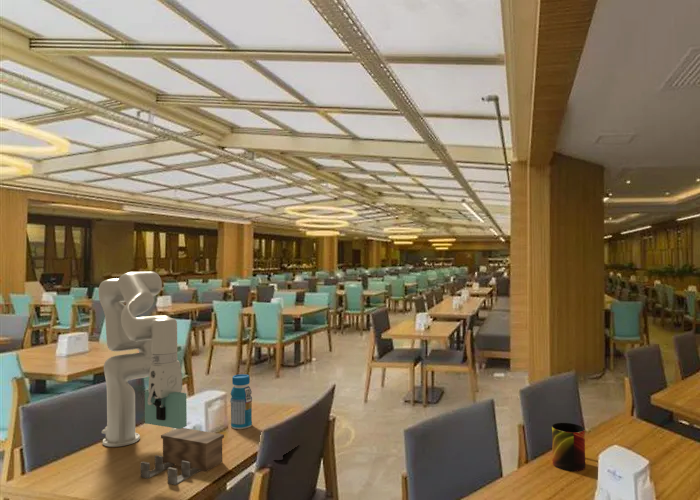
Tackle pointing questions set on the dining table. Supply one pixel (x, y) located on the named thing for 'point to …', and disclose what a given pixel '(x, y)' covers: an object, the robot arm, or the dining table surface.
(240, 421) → the beverage bottle
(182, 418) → the green rectangular block
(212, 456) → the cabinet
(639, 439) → the dining table surface
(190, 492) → the dining table surface
